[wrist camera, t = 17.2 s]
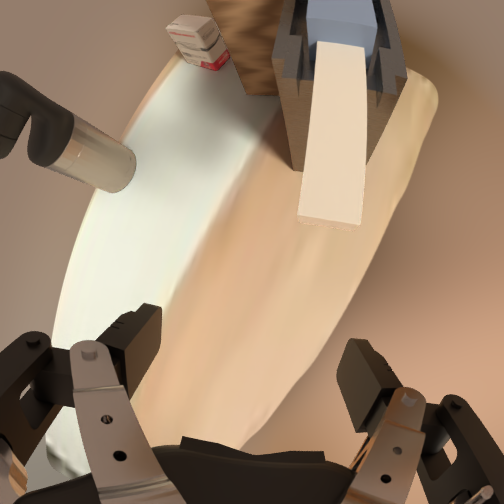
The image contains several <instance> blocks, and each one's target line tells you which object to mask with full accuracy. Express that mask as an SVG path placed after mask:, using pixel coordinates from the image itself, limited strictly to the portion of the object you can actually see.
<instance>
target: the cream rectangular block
mask: <svg viewBox="0 0 504 504" xmlns="http://www.w3.org/2000/svg"><path fill="white" fill-rule="evenodd" d="M306 20H307V32H308V46H309V60H313V61H316V64H315V75H314V86H313V96H312V105H311V115H310V124H309V132H308V141H307V149H306V156H305V164H304V172H303V179H302V186H301V193H300V200H299V207H298V213H297V216H298V221H299V223H305V224H311V225H317V226H323V227H329V228H335V229H341V230H347V231H355V230H356V229H357V228H358V227H359V226H360V225H361V216H362V206H363V196H364V183H365V168H366V146H367V86H366V68H368V69H369V66H370V61H371V57H372V52H373V48H374V43H375V38H376V33H377V22H376V17H375V12H374V7H373V3H372V0H308V7H307V16H306Z"/></svg>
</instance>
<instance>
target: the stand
mask: <svg viewBox="0 0 504 504" xmlns="http://www.w3.org/2000/svg"><path fill="white" fill-rule="evenodd" d="M206 2H207V4H208V6H209V8H210V10H211V12H212V15H213V17H214V19H215V21H216V23H217V26H218V28H219V30H220V32H221V35H222V37H223V39H224V41H225V44H226V46H227V48H228V51H229V53H230V55H231V58H232V60H233V62H234V65H235V67H236V70H237V72H238V74H239V77H240V79H241V82H242V84H243V87H244V89H245V92H246V94H247V95H273V96H280V95H279V91H278V86H277V81H276V77H275V72H274V68H273V63H272V59H271V58H272V53H273V49H274V44H275V40H276V35H277V31H278V26H279V22H280V18H281V13H282V9H283V5H284V0H206Z"/></svg>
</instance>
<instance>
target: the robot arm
mask: <svg viewBox="0 0 504 504" xmlns="http://www.w3.org/2000/svg"><path fill="white" fill-rule="evenodd" d="M30 116H31V118H32V121H31V130H30V135H29V140H28V148H27V152H28V157H29V159H30V160H31V161H32V162H33V163H35V164H36V165H39V166H42V167H44V168H47V169H50V170H52V171H55V172H58V173H60V174H63V175H65V176H68V177H71V178H73V179H76V180H79V181H81V182H84V183H86V184H89V185H91V186H94V187H96V188H99V189H101V190H104V191H107V192H109V193H115V192H118V191H121V190H122V189H123V188H125V187H126V186H127V185H128V183H129V182H130V181H131V179H132V177H133V175H134V172H135V168H136V158H135V155H134V153H133V152H132V151H131V150H129V149H128V148H126V147H125V146H123V145H122V144H120V143H119V142H117V141H116V140H114V139H113V138H111V137H109V136H108V135H106V134H105V133H103V132H102V131H100V130H98V129H97V128H95V127H94V126H92V125H91V124H89V123H88V122H86V121H85V120H83V119H81V118H79V117H78V116H76V115H75V114H73V113H72V112H70V111H68V110H67V109H65V108H63V107H62V106H60V105H58V104H56V103H55V102H53V101H52V100H50V99H48V98H47V97H46V96H44V95H43V94H41V93H40V92H39V91H37V90H36V89H35V88H33V87H32V86H30V85H29V84H28V83H26V82H25V81H24V80H22V79H21V78H19V77H18V76H16V75H14V74H12V73H9V72H6V71H0V159H3V158H5V157H6V156H8V154H9V153H10V152H11V150H12V149H13V147H14V145H15V143H16V141H17V139H18V137H19V135H20V133H21V131H22V130H23V128H24V126H25V124H26V122H27V121H28V119H29V117H30ZM161 327H162V308H161V307H159V306H155V305H151V304H147V303H143V304H142V305H141V306H140V308H139V309H138V310H137V311H136V312H133V311H130V312H127V313H125V314H122V315H121V316H120V317H119V318H118V319H116V320H115V322H113V323H112V324H111V325H110V327H108V328H107V329H106V330H105V331H104V332H103V333H102V334H101V335H100V336H99V337H98V338H97V339H96V340H95V341H92V340H85V341H80V342H78V343H76V344H74V345H73V346H72V347H71V349H70V350H66V349H60V348H54V347H52V345H51V340H50V338H49V336H48V335H46V334H45V333H42V332H38V331H31V332H27V333H24V334H22V335H21V336H20V337H18V338H17V339H16V340H15V341H13V342H12V343H11V344H10V345H9V346H7V347H6V348H5V349H4V350H3V351H2V352H1V353H0V504H405V501H406V498H407V496H408V493H409V490H410V487H411V485H412V482H413V479H414V475H415V473H416V470H417V473H418V476H419V478H420V481H421V483H422V486H423V489H424V492H425V495H426V497H427V500H428V503H429V504H504V455H503V453H502V452H501V450H500V449H499V447H498V446H497V444H496V443H495V441H494V440H493V438H492V437H491V435H490V434H489V432H488V431H487V429H486V428H485V426H484V425H483V424H482V422H481V421H480V419H479V418H478V417H477V415H476V414H475V413H474V411H473V410H472V408H471V407H470V406H469V404H468V403H467V402H466V401H465V400H464V399H463V398H461V397H459V396H457V395H452V394H450V395H446V396H444V398H443V399H442V401H441V403H440V404H439V405H438V404H431V403H426V399H425V397H424V396H423V395H422V394H421V393H420V392H418V391H417V390H415V389H413V388H409V387H403V385H402V384H401V382H400V381H399V379H398V378H397V376H396V375H395V373H394V372H393V371H392V369H391V367H390V366H389V365H388V363H387V361H386V360H385V358H384V357H383V356H382V355H380V354H379V353H378V352H376V351H374V349H373V348H372V346H371V345H370V343H369V342H368V340H365V339H355V338H351V339H349V341H348V342H347V345H346V347H345V350H344V353H343V355H342V358H341V361H340V363H339V366H338V369H337V382H338V385H339V387H340V390H341V393H342V396H343V398H344V401H345V403H346V407H347V409H348V412H349V415H350V418H351V420H352V423H353V426H354V428H355V432H356V433H361V432H367V433H368V436H367V437H366V439H365V440H364V442H363V444H362V446H361V447H360V449H359V451H358V453H357V455H356V456H355V458H354V459H353V461H352V463H351V464H350V466H349V468H347V467H344V466H342V465H339V464H337V463H333V462H330V461H325V456H324V451H288V452H281V453H273V454H264V455H252V454H248V453H245V452H242V451H239V450H236V449H233V448H230V447H227V446H224V445H222V444H219V443H214V442H208V441H203V440H198V439H193V438H189V437H185V436H182V440H181V443H180V445H164V446H157V447H152V448H151V447H150V445H149V443H148V441H147V439H146V437H145V435H144V433H143V431H142V429H141V426H140V424H139V422H138V420H137V417H136V415H135V413H134V410H133V408H132V406H131V403H130V399H131V398H132V396H133V394H134V392H135V391H136V389H137V387H138V385H139V384H140V382H141V380H142V378H143V377H144V375H145V373H146V372H147V370H148V368H149V366H150V365H151V363H152V361H153V360H154V358H155V356H156V355H157V353H158V351H159V348H160V343H161ZM29 384H30V387H31V388H30V389H29V390H28V391H27V392H26V394H25V395H24V396H23V397H22V398H21V399H20V395H21V393H22V391H23V390H24V389H25V388H26V387H27V386H28V385H29ZM63 406H68V407H73V408H75V409H76V414H77V419H78V424H79V428H80V433H81V437H82V441H83V445H84V449H85V452H86V456H87V459H88V463H89V466H90V469H91V473H88V474H86V475H83V476H80V477H77V478H75V479H72V480H69V481H66V482H63V483H60V484H56V485H53V486H49V487H46V488H43V489H39V490H35V491H31V492H28V493H26V494H25V492H26V491H27V486H26V485H27V480H28V477H27V472H26V470H25V468H24V466H25V465H26V463H27V461H28V460H29V458H30V456H31V455H32V453H33V452H34V450H35V448H36V447H37V445H38V444H39V442H40V440H41V439H42V437H43V436H44V434H45V433H46V431H47V430H48V428H49V427H50V425H51V424H52V422H53V421H54V419H55V418H56V416H57V415H58V413H59V412H60V410H61V409H62V407H63ZM450 438H451V440H452V442H453V443H454V445H455V447H456V449H457V458H456V460H455V461H454V463H453V464H452V465H451V463H450V461H449V459H448V457H447V455H446V453H445V451H444V449H443V447H444V445H445V444H446V443H447V442H448V440H449V439H450Z"/></svg>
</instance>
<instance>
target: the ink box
mask: <svg viewBox="0 0 504 504" xmlns="http://www.w3.org/2000/svg"><path fill="white" fill-rule="evenodd" d="M165 29H166V30H167V32H168V33H169V35H170V36H171V38H172V39H173V41H174V42H175V44H176V45H177V47H178V49H179V50H180V52H181V53H182V55H183V56H184V58H185V59H186V61H187V62H188V63H190V64H194V65H198V66H201V67H205V68H208V69H212V70H215V71H217V70H218V69H219V68H220V67H221V66H222V65H223V64H224V63H225V62H226V61H227V60H228V59H229V57H230V54H229V52H228V50H227V48H226V46H225V43H224V41H223V39H222V37H221V35H220V33H219V30H218V28H217V26H216V24H215V22H214V20H213V18H211V17H203V16H194V15H180V16H179V17H177V18H176V19H175V20H174V21H173V22H171V23H170V24H169V25H168V26H167V27H166V28H165Z"/></svg>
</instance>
